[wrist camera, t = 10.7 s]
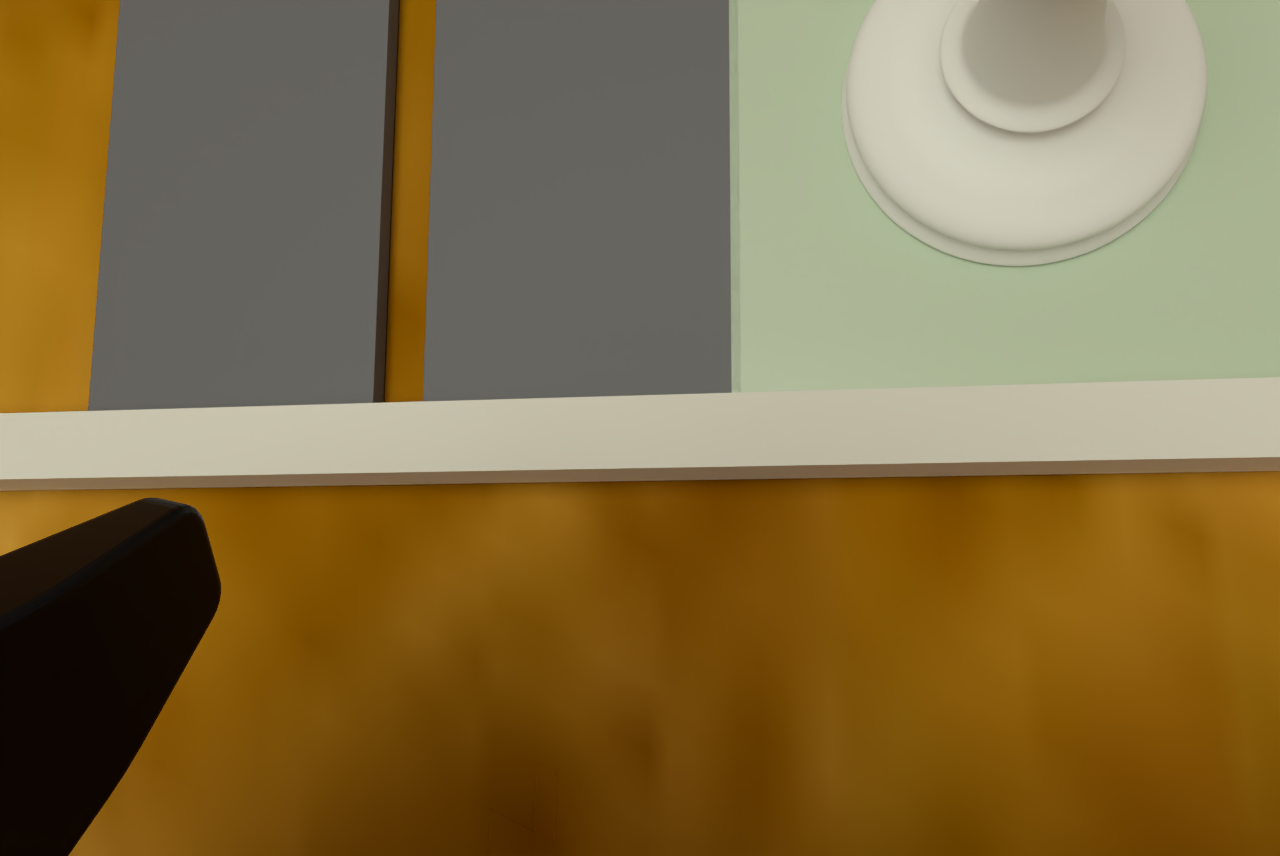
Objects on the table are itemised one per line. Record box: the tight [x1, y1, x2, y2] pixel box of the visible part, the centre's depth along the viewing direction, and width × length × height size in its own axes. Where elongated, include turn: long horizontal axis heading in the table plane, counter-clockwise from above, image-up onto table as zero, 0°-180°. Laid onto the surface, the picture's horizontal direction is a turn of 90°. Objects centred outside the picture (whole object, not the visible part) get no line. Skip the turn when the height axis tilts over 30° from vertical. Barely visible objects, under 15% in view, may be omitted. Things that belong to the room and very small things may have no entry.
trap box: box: [0, 0, 1280, 491], centre depth 19 cm, size 30×11×2 cm, turn 90°
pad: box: [729, 0, 1280, 393], centre depth 17 cm, size 8×9×1 cm
